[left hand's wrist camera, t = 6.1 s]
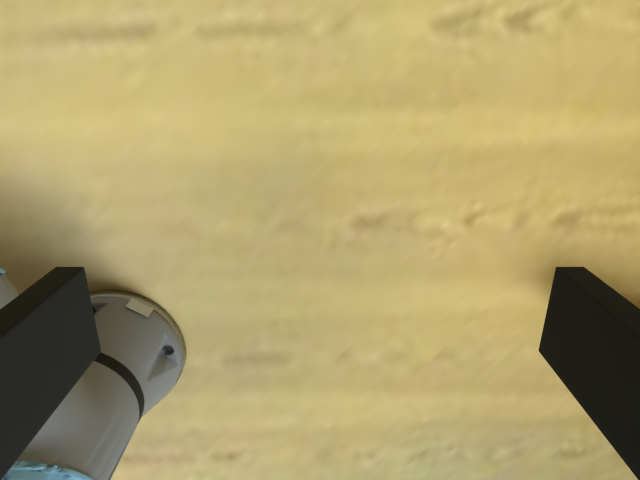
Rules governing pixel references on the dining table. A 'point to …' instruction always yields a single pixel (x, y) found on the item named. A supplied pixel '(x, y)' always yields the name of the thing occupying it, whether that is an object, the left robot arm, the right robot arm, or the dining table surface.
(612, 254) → the dining table surface
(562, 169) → the dining table surface
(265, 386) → the dining table surface
